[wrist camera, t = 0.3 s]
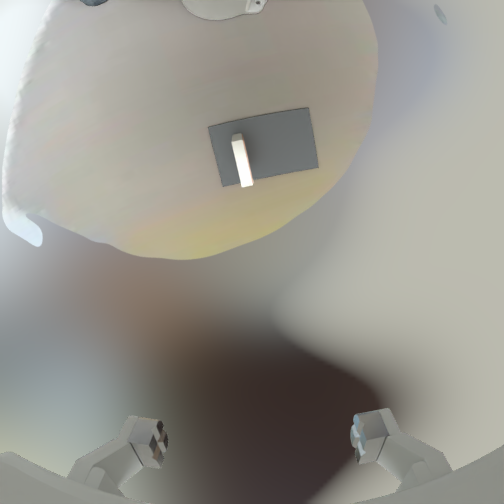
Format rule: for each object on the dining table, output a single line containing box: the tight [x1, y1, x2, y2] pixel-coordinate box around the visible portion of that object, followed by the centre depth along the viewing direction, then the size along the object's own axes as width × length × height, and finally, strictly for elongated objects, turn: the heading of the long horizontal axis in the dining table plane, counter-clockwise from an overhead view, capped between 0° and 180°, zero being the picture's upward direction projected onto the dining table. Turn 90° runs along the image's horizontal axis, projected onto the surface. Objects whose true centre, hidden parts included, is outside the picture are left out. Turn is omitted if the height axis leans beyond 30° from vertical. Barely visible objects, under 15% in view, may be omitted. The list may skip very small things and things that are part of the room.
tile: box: [231, 133, 253, 187], centre depth 47 cm, size 2×7×13 cm, turn 12°
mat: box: [208, 108, 319, 187], centre depth 52 cm, size 19×12×1 cm, turn 102°
